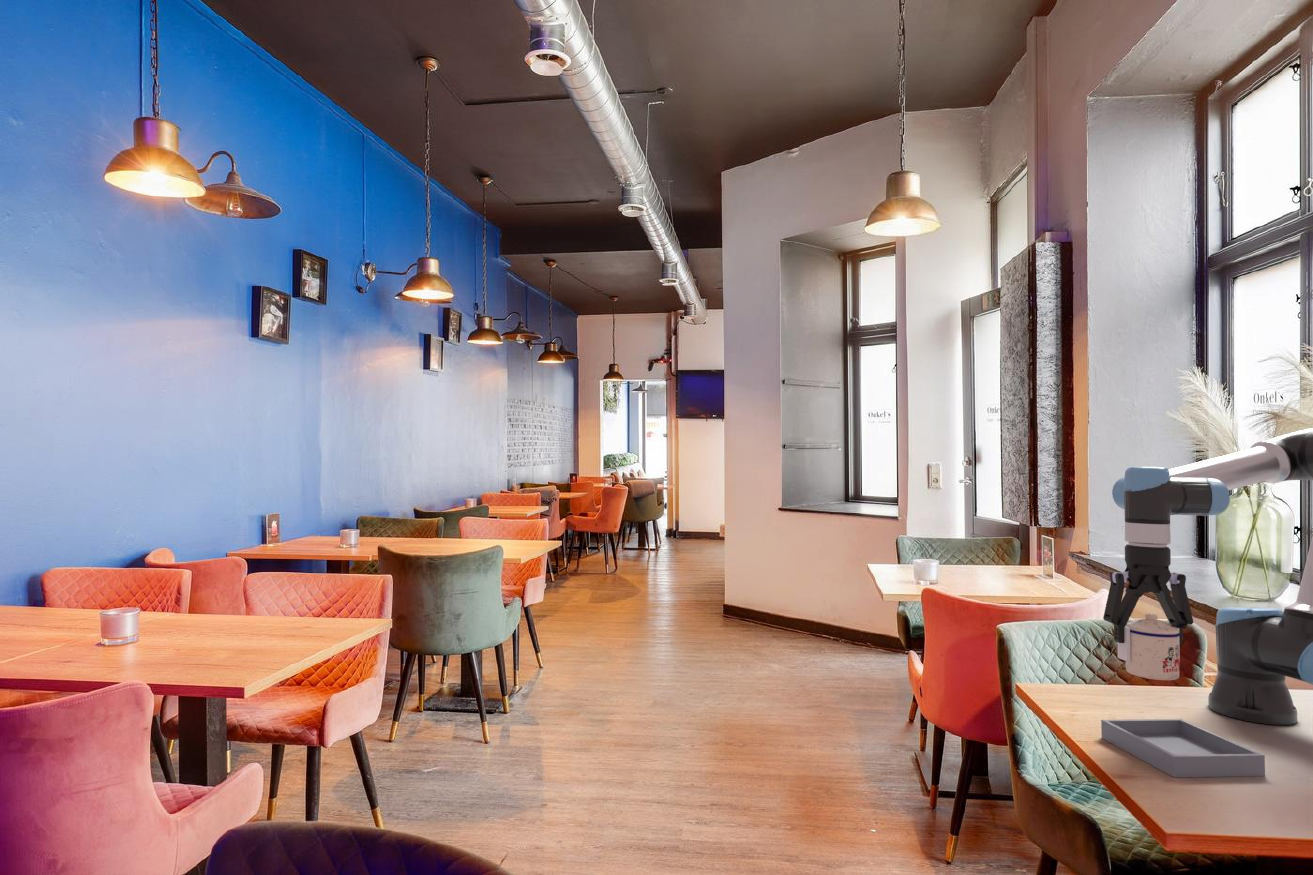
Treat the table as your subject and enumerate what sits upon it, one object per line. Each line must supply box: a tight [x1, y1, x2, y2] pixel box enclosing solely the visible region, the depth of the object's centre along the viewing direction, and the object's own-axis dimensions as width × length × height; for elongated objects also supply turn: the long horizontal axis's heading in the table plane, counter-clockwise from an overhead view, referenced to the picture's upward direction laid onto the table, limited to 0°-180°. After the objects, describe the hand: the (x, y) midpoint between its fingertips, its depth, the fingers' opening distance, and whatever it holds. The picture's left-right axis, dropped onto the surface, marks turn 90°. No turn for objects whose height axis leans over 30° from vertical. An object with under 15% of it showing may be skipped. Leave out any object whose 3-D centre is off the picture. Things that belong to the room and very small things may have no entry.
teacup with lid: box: [1125, 613, 1180, 681], centre depth 143 cm, size 12×9×12 cm
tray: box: [1100, 718, 1266, 778], centre depth 136 cm, size 17×19×4 cm
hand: (1148, 659), depth 143 cm, fingers closed on teacup with lid, 9 cm apart
